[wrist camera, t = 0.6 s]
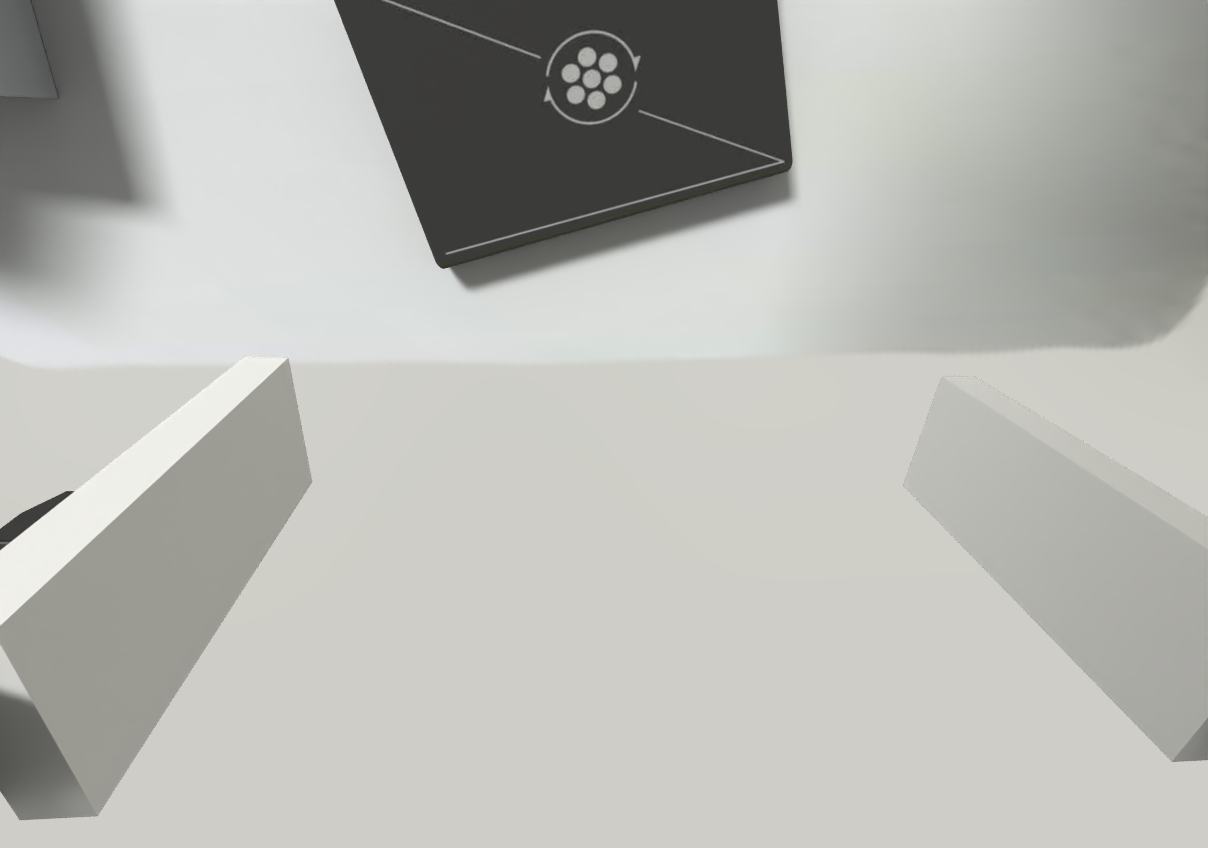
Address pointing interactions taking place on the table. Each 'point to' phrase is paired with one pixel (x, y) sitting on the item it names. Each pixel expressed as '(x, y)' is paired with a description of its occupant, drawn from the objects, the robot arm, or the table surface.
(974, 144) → the table surface
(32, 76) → the bay
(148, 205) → the table surface
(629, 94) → the book
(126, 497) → the robot arm
